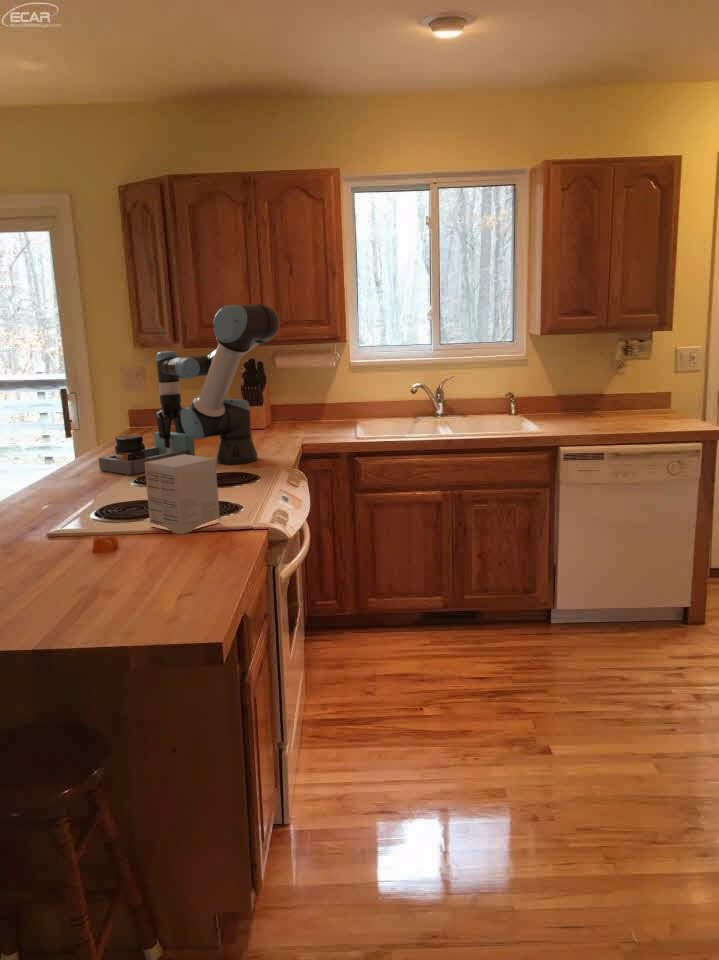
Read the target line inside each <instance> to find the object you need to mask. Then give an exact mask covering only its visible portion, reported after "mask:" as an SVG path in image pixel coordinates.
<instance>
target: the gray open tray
mask: <svg viewBox="0 0 719 960" xmlns="http://www.w3.org/2000/svg"><path fill="white" fill-rule="evenodd" d="M153 435H154V436H153V437H154V445H155V446H153V447H147V448H146V447H145V454H146V458H142V459H137V460H132V461H128V460H121V459H116V453H115V454H110V455H105V456H100V457H98V465H99V466H98V467H99V470H100V471H105V472H109V473H115V474H123V475H128V476H132V475H137V474H141V473H145V464H144V462H149V461H154V460H159V459H164V458H169V457H174V456H178V455H183V454H186V455H193V456H196V453H195V452H196V451H195V442H194V440H195V439H192V438H190V437H189V436H187V434H185V433H177V432H176V431H171V432H170V439H172V446H173V452H171V453H167V448H165V441H164V439H163V438H160V437H159V431H156V432H154V433H153Z"/></svg>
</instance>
